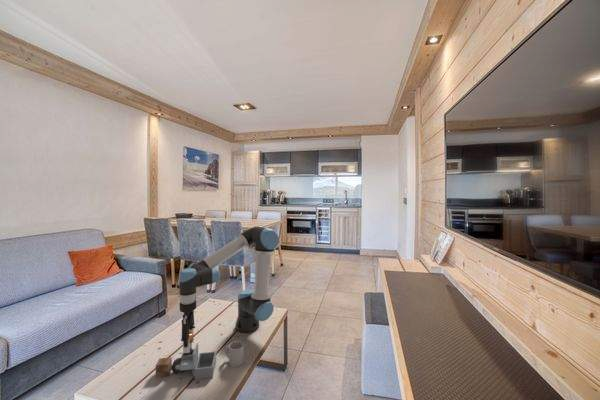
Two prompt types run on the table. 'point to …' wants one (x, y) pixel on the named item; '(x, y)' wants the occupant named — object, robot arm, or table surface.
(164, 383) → the table surface
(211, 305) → the table surface
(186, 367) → the grey bracket
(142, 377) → the table surface
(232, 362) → the cup
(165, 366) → the block
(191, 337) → the pin
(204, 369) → the bin
